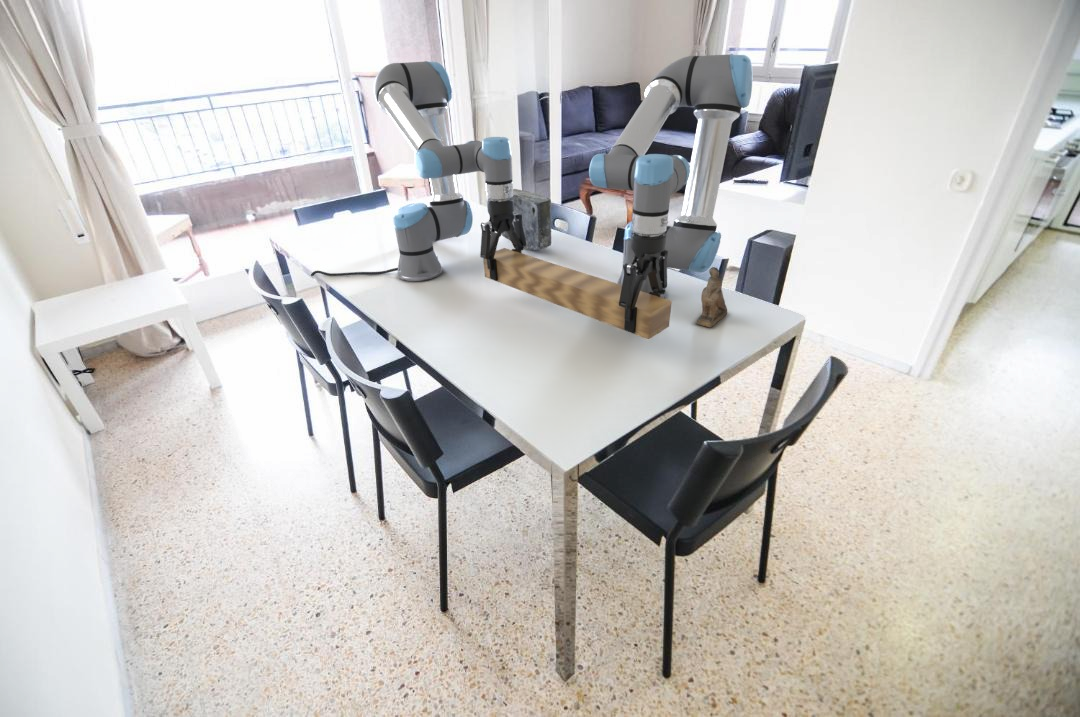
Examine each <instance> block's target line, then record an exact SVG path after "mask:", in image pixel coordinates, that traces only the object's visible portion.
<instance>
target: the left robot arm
mask: <svg viewBox="0 0 1080 717" xmlns="http://www.w3.org/2000/svg"><path fill="white" fill-rule="evenodd" d="M452 93H453V86H452V83H451V79H450V76H449V74H448V71H447V70H446V69H445V67H444V66H443V64H441V63H440V62H437V61H428V60H424V61H413V62H409V61H408V62H393V63H389V64H387V65H385V66H383V67H382V68H381V69H380V70H379V71H378V73H377V74H376V76H375V79H374V82H373V95H374V98H375V99H374V100H375V102H376V104H377V105H378V107H379V109H380V110H381V111H382V112H383V113H385V115H389V117H390V118H391V119H392V121H393V122H394V124H395V125H396V127H397V128H398V130H399V131H400V133H401V134H402V136H403V137H404V139H405V140H406V141H407V143H408V144H409V146H410V147H411V149H412V150H413V151H414V157H413V158H414V166H415V169H416V171H417V172H416V173H417V174H418V176H419V177H420V178H421V179H424V180H429V182H430V189H431V194H432V196H431V197H430V198H429V200H428V202H429V206H428V205H427V204H426V203H424V202H423V203H422V202H417V203H410V204H406V205H403V206H401V207H399V208H397V209H396V210H395V211H394V213H393V215H392V219H393V228H394V230H395V231H394V232H395V236H396V241H397V247H398V251H399V259H398V265H397V267H395V268H391V269H387V270H381V271H356V272H355V271H352V272H351V271H350V272H338V273H337V272H336V273H335V272H334V273H331V272H326V271H322V270H314V271H312V272H311V274H310V276H311V277H314V276H315V275H316V274H320V275H323V276H328V277H343V276H344V277H345V276H357V275H358V276H360V275H363V276H364V275H365V276H366V275H368V276H369V275H384V274H389V273H391V272H397V276H398V278H399V279H400V280H402V281H406V282H413V283H414V282H425V281H429V280H432V279H435V278H438V277H439V276H440V275H441V274H442V273H443V268H442V264H441V263H440V260H439V257H438V255H437V254H436V252H435V250H434V243H435V242H438V241H443V240H447V239H452V238H459V237H460V236H465V235H467V234H468V233H469V232H470V231H471V229H472V227H473V220H474V219H473V209H472V208H471V204H470V202H468V200H465V199H464V195H463V194H461V193H460V192H459V191H458V185H457V180H456V175H457V176H458V175H463V174H464V175H465V174H470V173H476V172H481V173H484V184H485V196H486V198H487V200H486V206H487V213H488V215H489V218H488V220H487V221H486V222H481V223H480V230H481V239H480V251H479V252H480V254H479V256H480V257H479V258H481V259H483V258H484V259H487V268H488V269H489V271H490V279H489V280H492V279H493V281H494V280H495V281H494V282H497V280H498V274H497V262H496V259H495V258H494V256H495V252H496V251H497V248H498V245H499V244H498V243H499V241H500V237H502V235H501V233H503V232H504V231H506V232H507V234H508V236H509V238H510V240H511V241H510V240H509V241H510V242H511V244H512V247H513V248H512V249H511V250H512V251H516V252H519V253H522V251H524V249H525V248H524V247H523V246H526V239H525V235H524V230H523V225H522V215H521V214H517V213H514V214H513V212H514V199H513V198H512V197H513V189H514V181H513V158H512V156H513V153H512V148H511V141H510V139H509V138H508V137H505V136H489V137H485V138H483V139H482V141H480V140H469V141H467V142H465V143H459V144H452V145H450V140H449V133H448V129H447V122H446V116H445V114H446V112H447V111H448V109H449V106H448V104H449V103H450V102H451V100H452V98H453V94H452ZM512 223H514V226H513V224H512ZM514 227H515V228H514ZM515 232H516V233H515Z"/></svg>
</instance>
